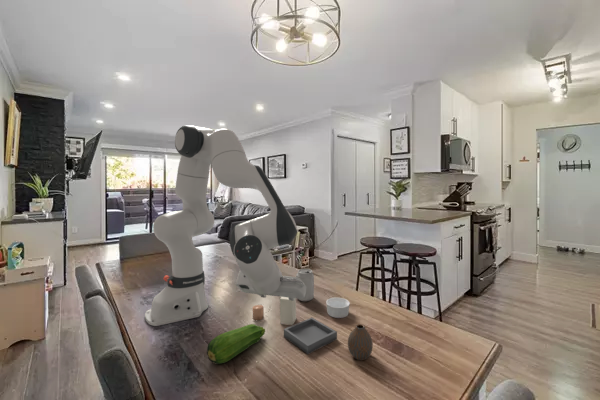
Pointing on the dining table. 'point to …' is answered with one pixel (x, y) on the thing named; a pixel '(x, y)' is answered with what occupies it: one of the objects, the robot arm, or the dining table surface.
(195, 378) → the dining table surface
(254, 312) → the tan small cylinder
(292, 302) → the cream block
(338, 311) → the ramekin
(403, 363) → the dining table surface
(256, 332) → the vegetable
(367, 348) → the vase
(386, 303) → the dining table surface
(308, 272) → the can
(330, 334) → the tray
